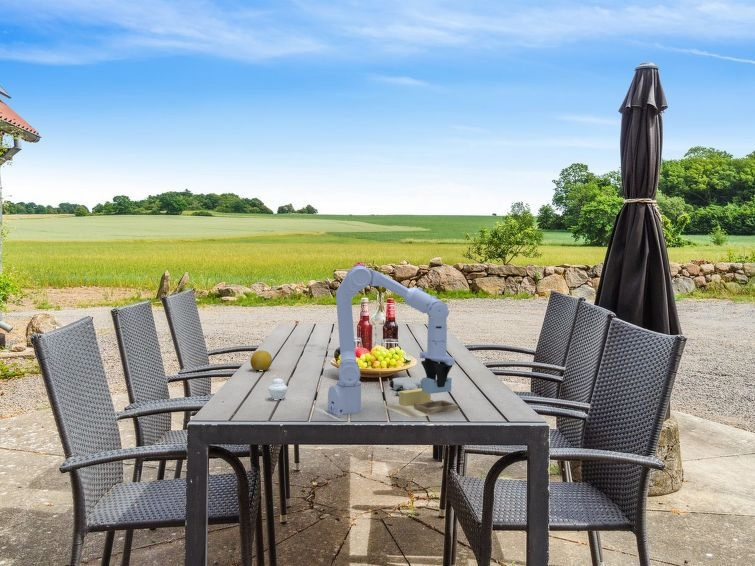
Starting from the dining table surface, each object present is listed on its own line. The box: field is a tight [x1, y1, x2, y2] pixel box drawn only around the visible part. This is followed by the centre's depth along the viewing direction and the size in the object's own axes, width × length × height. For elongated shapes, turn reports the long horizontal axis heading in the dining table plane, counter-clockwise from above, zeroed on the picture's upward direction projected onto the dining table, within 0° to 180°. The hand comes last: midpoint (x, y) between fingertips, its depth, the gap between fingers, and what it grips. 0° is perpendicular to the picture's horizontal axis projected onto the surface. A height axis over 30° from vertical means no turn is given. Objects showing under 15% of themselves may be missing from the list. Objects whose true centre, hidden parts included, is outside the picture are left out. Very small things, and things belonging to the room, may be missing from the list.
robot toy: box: [387, 376, 423, 396], centre depth 213 cm, size 12×4×15 cm
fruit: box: [250, 350, 273, 371], centre depth 251 cm, size 9×8×8 cm
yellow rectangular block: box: [398, 388, 431, 406], centre depth 196 cm, size 10×3×4 cm, turn 123°
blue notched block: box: [421, 376, 452, 395], centre depth 189 cm, size 8×4×4 cm, turn 122°
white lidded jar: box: [268, 377, 288, 401], centre depth 204 cm, size 6×6×7 cm
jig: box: [381, 399, 460, 419], centre depth 190 cm, size 18×16×2 cm
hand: (436, 385), depth 188 cm, fingers closed on blue notched block, 4 cm apart
